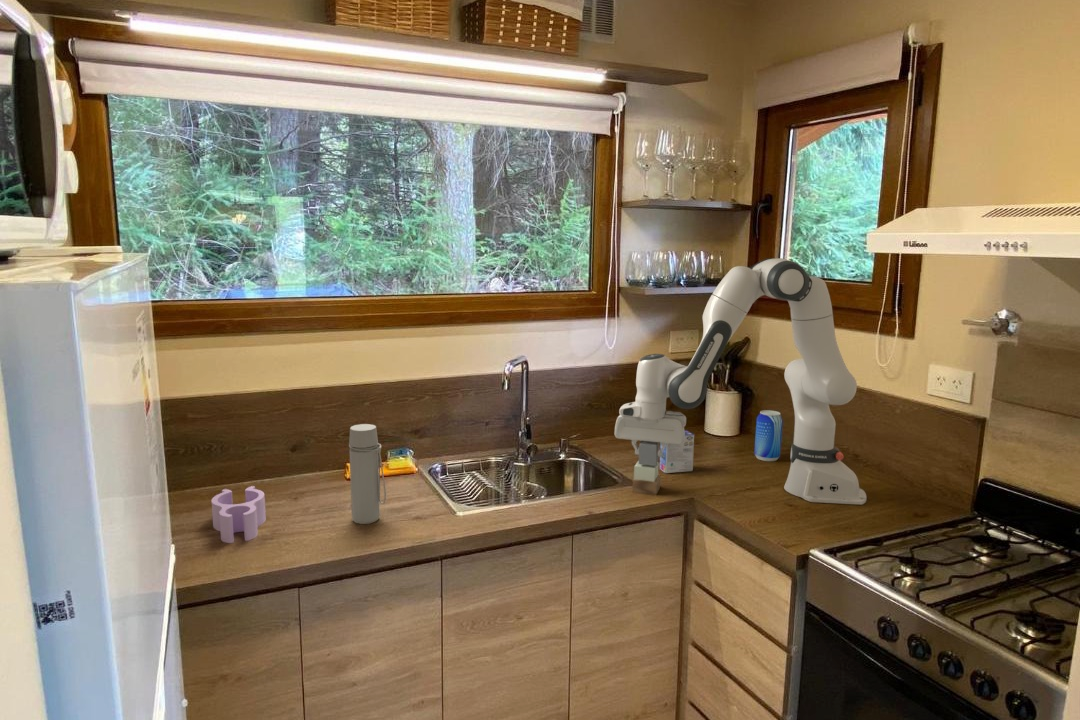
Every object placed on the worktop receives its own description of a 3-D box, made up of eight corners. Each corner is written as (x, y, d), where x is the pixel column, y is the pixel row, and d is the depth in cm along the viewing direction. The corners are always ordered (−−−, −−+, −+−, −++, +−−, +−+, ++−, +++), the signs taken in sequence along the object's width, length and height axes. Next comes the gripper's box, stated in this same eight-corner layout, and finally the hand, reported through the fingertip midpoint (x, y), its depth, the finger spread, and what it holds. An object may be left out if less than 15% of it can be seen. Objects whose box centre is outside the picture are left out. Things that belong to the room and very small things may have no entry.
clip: (267, 538, 172) (265, 512, 170) (210, 546, 167) (208, 519, 166) (265, 509, 190) (263, 484, 188) (214, 515, 185) (212, 490, 184)
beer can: (748, 456, 241) (751, 410, 238) (767, 453, 245) (770, 408, 242) (766, 463, 234) (769, 416, 231) (785, 460, 237) (788, 414, 234)
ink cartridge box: (685, 466, 230) (687, 423, 227) (693, 471, 224) (696, 427, 222) (658, 468, 227) (659, 425, 224) (665, 474, 222) (667, 429, 219)
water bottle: (346, 525, 180) (343, 430, 175) (358, 513, 187) (355, 422, 183) (380, 527, 178) (378, 432, 174) (391, 515, 186) (389, 424, 182)
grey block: (658, 460, 208) (658, 441, 207) (655, 465, 203) (656, 445, 202) (641, 458, 209) (642, 439, 208) (638, 463, 205) (639, 444, 204)
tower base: (660, 488, 210) (660, 475, 209) (656, 496, 204) (656, 482, 203) (636, 485, 212) (637, 472, 212) (632, 492, 206) (632, 479, 205)
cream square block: (658, 475, 209) (658, 462, 209) (654, 481, 204) (654, 468, 203) (638, 472, 211) (638, 460, 211) (633, 479, 206) (634, 466, 205)
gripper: (687, 410, 203) (685, 455, 206) (618, 404, 209) (616, 448, 212) (685, 415, 197) (683, 462, 200) (614, 409, 204) (612, 454, 206)
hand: (648, 455), depth 206 cm, fingers closed on grey block, 5 cm apart
